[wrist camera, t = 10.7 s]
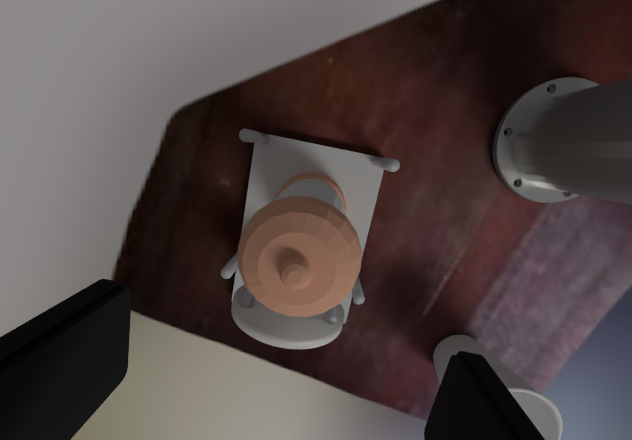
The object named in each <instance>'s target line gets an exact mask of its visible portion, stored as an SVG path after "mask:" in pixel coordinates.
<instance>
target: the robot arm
mask: <svg viewBox="0 0 632 440" xmlns="http://www.w3.org/2000/svg"><path fill="white" fill-rule="evenodd" d="M504 131H505V134H504ZM493 161H494V166H495V169H496V172H497V174H498V176H499V178H500V179H501V181H502V182H503V184H504V185H505V186H506V187H507V188H508V189H509V190H510V191H511V192H513V193H514V194H516V195H518V196H520V197H521V198H525V199H528V200H531V201H536V202H541V203H556V202H562V201H566V200H569V199H572V198H575V197H577V196H579V195H584V196H590V197H595V198H601V199H606V200H612V201H618V202H623V203H629V204H632V78H629V79H625V80H620V81H616V82H612V83H607V84H603V85H599V84H598V83H596V82H594V81H591V80H588V79H585V78H577V77H565V78H558V79H554V80H550V81H547V82H544V83H542V84H539V85H537V86H534V87H533V88H531V89H529V90H528V91H526V92H525V93H523V94H522V95H521V96H520V97H519V98H517V99H516V100H515V101H514V102H513V103H512V104H511V106H510V107H509V108H508V109H507V110H506V112H505V113H504V115H503V117H502V119H501V120H500V122H499V124H498V127H497V130H496V132H495V136H494V141H493ZM130 313H131V291H130V290H129V289H127V286H126V284H125V283H122V282H117V281H112V280H107V279H101V280H99V281H97V282H96V283H93V284H92V285H90V286H89V287H87V288H85V289H83V290H81V291H80V292H78V293H76V294H74V295H73V296H71V297H69V298H68V299H66V300H64V301H62V302H61V303H59V304H57V305H55V306H54V307H52V308H50V309H48V310H47V311H45V312H43V313H42V314H40V315H38V316H36V317H35V318H33V319H31V320H29V321H28V322H26V323H24V324H23V325H21V326H19V327H17V328H16V329H14V330H12V331H10V332H9V333H7V334H5V335H3V336H2V337H0V440H70V439H71V438H72V437H73V436H74V435H75V434H76V433H77V431H78V430H79V429H80V428H81V427H82V426H83V425H84V424H85V422H86V421H87V420H88V419H89V418H90V417H91V416H92V414H93V413H94V412H95V411H96V410H97V409H98V408H99V407H100V405H101V404H102V403H103V402H104V401H105V400H106V399H107V397H108V396H109V395H110V394H111V393H112V392H113V391H114V390H115V388H116V387H117V386H118V385H119V384H120V383H121V382H122V380H123V378H124V377H125V375H126V372H127V368H128V351H129V332H130ZM424 435H425V436H424V437H425V440H545V439H544V437H543V436H542V435H541V433H540V432H539V431H538V429H537V428H536V427H535V425H534V424H533V423H532V421H531V420H530V419H529V417H528V416H527V414H526V413H525V412H524V410H523V409H522V408H521V406H520V405H519V404H518V402H517V401H516V400H515V398H514V397H513V396H512V394H511V393H510V391H509V390H508V389H507V387H506V386H505V385H504V383H503V382H502V381H501V379H500V378H499V377H498V375H497V374H496V373H495V371H494V370H493V368H492V367H491V366H490V364H489V363H488V362H487V360H486V359H485V358H484V357H483V356H482V355H480V354H475V353H470V352H465V351H459V352H458V353H457V354H456V355H452V356H451V357H450V360H449V362H448V365H447V368H446V371H445V373H444V376H443V379H442V382H441V385H440V387H439V390H438V393H437V396H436V398H435V401H434V404H433V407H432V410H431V412H430V415H429V418H428V421H427V424H426V426H425V432H424Z"/></svg>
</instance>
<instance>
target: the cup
mask: <svg viewBox="0 0 632 440" xmlns="http://www.w3.org/2000/svg"><path fill="white" fill-rule="evenodd" d="M459 351H465V352H470V353H475V354H480V355H482V356H483V357H484V358H485V359H486V360H487V362H488V363H489V364H490V366H491V367H492V368H493V370H494V371H495V373H496V374H497V375H498V377H499V378H500V379H501V381H502V382H503V383H504V385H505V386H506V387H507V389H508V390H509V391H510V393H511V394H512V396H513V397H514V398H515V400H516V401H517V402H518V404H519V405H520V406H521V408H522V409H523V410H524V412H525V413H526V414H527V416H528V417H529V419H530V420H531V421H532V423H533V424H534V425H535V427H536V428H537V429H538V431H539V432H540V433H541V435H542V436H543V437H544V439H545V440H560V438H561V434H562V419H561V416H560V412H559V411H558V409H557V407H556V406H555V404H554V403H553V402H552V401H551V400H550V399H549V398H548V397H546V396H545V395H543V394H541V393H540V392H538V391H536V390H535V389H533V388H532V387H531V386H530V385H529V384H528V383H526V382H525V381H524V380H523V379H522V378H520V377H519V376H518V375H517V374H515V373H514V372H513V371H512V370H511V369H510V368H508V367H507V366H506V365H504V364H503V363H502V362H501V361H500V360H499V359H498V358H496V357H495V356H494V355H493V354H492V353H490V352H489V351H488V350H487V349H486V348H485V347H483V346H482V345H481V344H480V343H479V342H478V341H476V340H475V339H473V338H472V337H469V336H466V335H453V336H450V337H447V338H445V339H444V340H442V341H441V342H440V343H439V344H438V345H437V347H436V348H435V350H434V353H433V362H434V366H435V370H436V373H437V377H438V380H439V384H440V385H441V382H442V379H443V376H444V373H445V371H446V368H447V365H448V362H449V360H450V357H451V356H452V355H456V354H457V353H458V352H459Z"/></svg>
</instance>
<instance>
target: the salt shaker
mask: <svg viewBox="0 0 632 440" xmlns="http://www.w3.org/2000/svg"><path fill="white" fill-rule="evenodd" d="M346 208H347V207H346V203H345V199H344V195H343V193H342V191H341V189H340V188H339V186H338V185H337V183H336V182H335V181H334V180H332V179H331V178H330V177H329V176H327V175H324V174H321V173H319V172H305V173H301V174H298V175H296V176H294V177H293V178H291V179H290V180H289V181H287V182H286V183H285V184H284V185H283V187H282V188H281V189H280V191H279V192H278V194H277V196H276V199H275V201H271V202H270V203H269V204H267V205H266V206H264V207H263V208H261V209H260V210H258V211H257V212H255V214H254V215H253V216H252V218H251V219H250V220H249V222H248V223H247V224H246V226H245V227H244V229H243V232H242V235H241V238H240V242H239V245H238V268H239V271H240V274H241V277H242V279H243V282H244V285H245V286H246V288H247V289H248V290H249V291H250V293H251V294H252V295H253V297H254V298H255V299H256V300H257V301H259V302H260V303H261V304H263V305H264V306H266V307H267V308H269V309H270V310H272V311H275V312H278V313H281V314H284V315H287V316H300V317H308V316H312V315H316V314H320V313H324V312H326V311H328V310H329V309H331V308H333V307H334V306H336V305H338V304H340V303H341V301H342V300H343V299H344V298H345V297H346V296H347V295H348V294H349V292H350V291H351V290H352V288H353V286H354V284H355V281H356V279H357V277H358V274H359V272H360V269H361V257H362V249H361V245H360V241H359V238H358V234H357V231H356V230H355V228H354V227H353V225H352V224H351V222H350V221H349V219H348V218H347V216H346Z"/></svg>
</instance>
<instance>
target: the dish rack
mask: <svg viewBox="0 0 632 440" xmlns="http://www.w3.org/2000/svg"><path fill="white" fill-rule="evenodd" d="M239 137H240V139H241V140H242V141H244V142H253V143H254V150H253V157H252V164H251V171H250V178H249V185H248V192H247V198H246V205H245V212H244V219H243V226H242V232H243V229H244V227H245V226H246V224H247V223H248V222H249V220H250V219H251V218H252V216H253V215H254V214H255V212H257V211H258V210H260V209H261V208H263V207H264V206H266V205H267V204H269V203H270V202H271V201H275V199H276V196H277V194H278V192H279V191H280V189H281V188H282V187H283V185H284V184H285V183H286V182H287V181H289V180H290V179H291V178H293V177H294V176H296V175H298V174H301V173H305V172H319V173H321V174H324V175H327V176H329V177H330V178H331V179H332V180H334V181H335V182H336V183H337V185H338V186H339V188H340V189H341V191H342V193H343V195H344V199H345V203H346V207H347V208H346V216H347V218H348V219H349V221H350V222H351V224H352V225H353V227H354V228H355V230H356V231H357V234H358V238H359V241H360V245H361V249H362V255H363V251H364V247H365V243H366V239H367V235H368V231H369V227H370V223H371V219H372V215H373V211H374V207H375V203H376V199H377V195H378V191H379V187H380V183H381V179H382V175H383V171H384V169H385V170H388V171H391V172H395V171H397V170H398V169H399V166H400V164H399V162H398V161H397V160H396V159H390V158H383V157H376V156H372V155H367V154H362V153H357V152H352V151H347V150H342V149H337V148H333V147H328V146H323V145H318V144H313V143H308V142H303V141H298V140H293V139H289V138H284V137H279V136H274V135H269V134H264V133H261V132H257V131H253V130H249V129H242V130H241V131H240V133H239ZM241 235H242V233H241ZM361 259H362V257H361ZM235 271H236V274H235V281H234V288H233V295H232V316H233V319H234V321H235V322H236V324H237V325H238V326H239V327H240V328H241V329H242V330H243V331H244V332H245V333H247V334H248V335H249V336H251V337H253V338H255V339H256V340H259V341H261V342H263V343H266V344H269V345H272V346H276V347H281V348H288V349H309V348H315V347H319V346H323V345H325V344H327V343H330V342H331V341H333V340H334V339H335V338H336V337H337V336H338V335H339V334H340V332H341V329H342V325H343V323H346V319H347V315H348V311H349V307H350V303H351V299H352V295H353V300H354V302H355V303H356V304H362V303H363V302H364V300H365V298H364V294H363V291H362V287H361V283H360V280H359V276H358V277H357V279H356V281H355V284H354V286H353V288H352V290H351V291H350V292H349V294H348V295H347V296H346V297H345V298H344V299H343V300H342V301H341V303H340V304H338V305H336V306H334V307H333V308H331V309H329V310H328V311H326V312H324V313H320V314H316V315H312V316H308V317H300V316H287V315H284V314H281V313H278V312H275V311H272V310H270V309H269V308H267V307H266V306H264V305H263V304H261V303H260V302H259V301H257V300H256V299H255V298H254V297H253V295H252V294H251V293H250V291H249V290H248V289H247V288H246V286H245V285H244V282H243V279H242V277H241V274H240V271H239V268H238V251H237V253H236V254H235V255H234V256H233V257H232V259H231V260H230V261H229V262H228V263H227V264H226V266H225V267H224V268H223V269H222V270H221V276H222V277H223V278H225V279H228V278H230V277H231V276H232V275H233V273H234V272H235Z"/></svg>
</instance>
